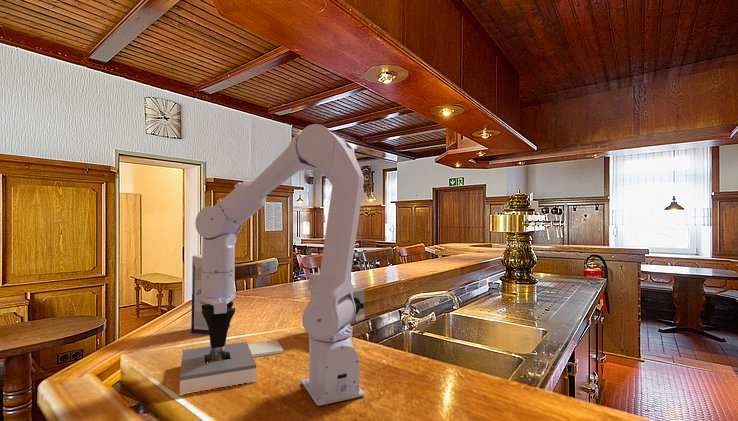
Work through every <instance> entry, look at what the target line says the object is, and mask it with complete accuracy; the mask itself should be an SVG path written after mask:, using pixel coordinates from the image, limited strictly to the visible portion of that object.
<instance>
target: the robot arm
mask: <svg viewBox="0 0 738 421" xmlns="http://www.w3.org/2000/svg"><path fill="white" fill-rule="evenodd" d="M357 159H358V158H357V157H356V155H355V148H354V147H352V145H351V144H349V143H348V141H346V140H345V139H344V138H343V137H342V136H339V135H336V134H335V133H333V132H332V131H330V130H329V128H327V127H326V126H325V125H322V124H318V123H313V124H309V125H306V127H304V128H303V129H302V130H301V132H300V133H299V134H297V135H295V136H293V137H292V138H291V139H290V142H289V144H288V146H287V147H286V149H284V150H283V152H281V154H280V155H278V157H276V158H275V159H274V160H273V161H272V162H271V163H270V164H269V166H267V168H265V170H263V171H262V172H261V173H260V174H259V175H258V176H257V177H256V178H255V179H254V180H253V181H249V180H244V181H242V182H237V183H235V185H233V187H234V189H233V190H232V191H230V192H229V193H228V194H227V195H226V196H225V197H224V198H223V199H218V201H217V202H216V204H215V205H213V206H212V205H211V206H210V205H209V206H207V205H206V206H204V207H202V208H201V210H200V211H199V212H198V213H197V215H196V218H195V223H194V224H195V229H196V231H197V234H198V235H200V236H201V237H202V239H201V240H202V246H201V248H202V249H201V250H202V251H201V252H202V253H201V254H202V295H197V296H195V301H202V302H205V303H208V304H204V305H202V306H201V307H202V315H203V317H204V318H205V320H206V323H207V326H208V330H209V334H208V336H209V343H210V342H211V346H212V348H218V347H224V345H225V342H226V343H227V337H228V331H229V328H230V327H229V324H230V325H231V321H232V319H233V317H234V315H235V312H236V308H235V307H233V306H234V302H233V300H235V299H236V293H235V278H236V277H235V275H236V274H235V270H236V269H235V268H236V267H235V266H236V265H235V264H236V263H235V262H236V261H235V259H236V258H235V256H236V254H235V252H236V244H237V242H238V241H237V240H238V239H237V238H238V235H239V234H240V232H241V230H242V228H243V224H244V223H245V222H246V221H247V220H249V219H250V218H251V217H252V216H253V215H255V214H256V213H257V212H258V211H260V209H262V208H263V207H264V206H265V205H266V203H267V195H269V194H270V193H271V192H273V191H274V190H275V189H277V188H278V187H279V186H281V185H282V184H283V183H284V182H286V181H287V180H289V179H291V177H293V176H295V174H297V173H298V172H300V171H318V170H320V173H322V174H323V175H324V177H325V178H326V179H327V180H328V182H330V184H331V192H330V200H329V208H328V213H327V220H326V227H325V235H324V241H323V249H322V256H321V262H320V269H319V273H320V276H319V279H318V281H317V283H316V284H315V286H314V288H313V290H312V292H311V291H310V298H309V302H308V303H307V305H306V306H305V307H304V310H303V312H302V319H301V320H302V325H303V328H304V330H305V332H306V333H307V335H308V354H309V355H308V378H305V379H302V380H301V384H302V385H303V387H304V388H305V390H306V391H307V393H308V394H309V396H310V397H311V398H312V400H313V402H314V403H315V405H316V406H318V407H320V406H324V405H328V404H334V403H340V402H343V401H348V400H351V399H356V398H360V397H364V396H365V391H364V390H363V389H362V388H361V387H360V357H359V353H358V351H357V350H356V349H355V348H354V345H353V342H352V336H353V334H352V332H353V331H352V326H351V327H350V321H351V320H352V319H353V318H354V315H355V311H356V306H355V302H354V299H353V289H354V288H355V287H354V285H353V283H352V280H351V281H350V276H351V277H352V268H353V261H354V254H355V246H356V241H357V233H358V226H359V218H360V212H361V204H362V198H363V197H362V196H363V193H364V192H363V190H364V183H365V177H364V174H363V171H362V169H361V167H360V165H359V162H358V160H357ZM228 327H229V328H228Z"/></svg>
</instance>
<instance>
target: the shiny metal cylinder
mask: <svg viewBox="0 0 738 421" xmlns="http://www.w3.org/2000/svg"><path fill="white" fill-rule="evenodd" d="M226 344H227V341H226V342H225V345H224V347H218V348H212V346H211V342H210V341H209V347H210V360H209V362H215V361H221V360H226Z"/></svg>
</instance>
